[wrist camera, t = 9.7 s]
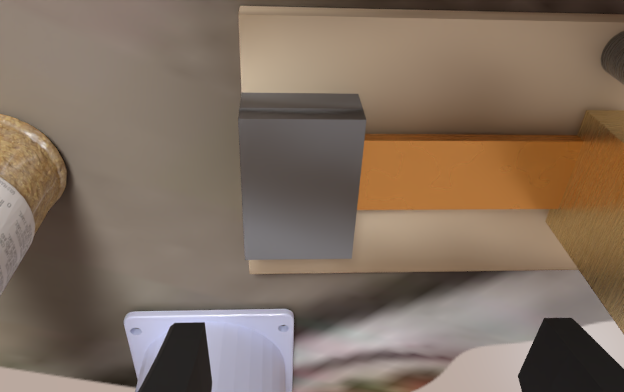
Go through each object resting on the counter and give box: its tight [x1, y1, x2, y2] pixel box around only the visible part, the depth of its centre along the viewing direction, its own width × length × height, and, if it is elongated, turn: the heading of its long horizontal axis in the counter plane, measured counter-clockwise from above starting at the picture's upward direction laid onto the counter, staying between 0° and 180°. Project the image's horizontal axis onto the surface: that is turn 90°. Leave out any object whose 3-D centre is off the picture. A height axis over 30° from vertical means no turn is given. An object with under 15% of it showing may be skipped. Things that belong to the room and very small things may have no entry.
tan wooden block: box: [357, 110, 624, 334], centre depth 17 cm, size 5×11×7 cm, turn 88°
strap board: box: [238, 6, 624, 274], centre depth 20 cm, size 11×20×3 cm, turn 88°
